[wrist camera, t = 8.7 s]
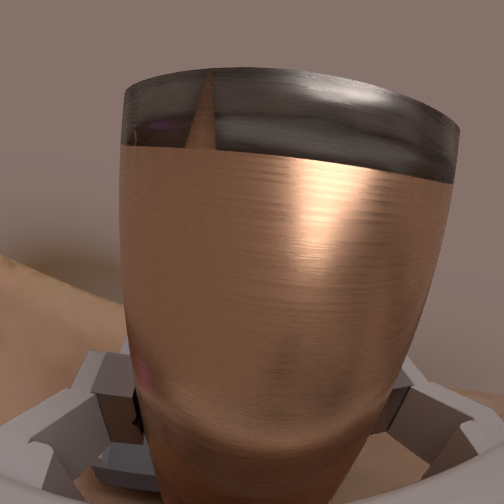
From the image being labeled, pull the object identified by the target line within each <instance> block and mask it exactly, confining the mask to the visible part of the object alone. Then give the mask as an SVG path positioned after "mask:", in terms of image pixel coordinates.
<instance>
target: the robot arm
mask: <svg viewBox="0 0 504 504" xmlns="http://www.w3.org/2000/svg"><path fill="white" fill-rule="evenodd" d="M383 432H387V434H389V435H390V436H391V437H393V438H394V439H395V440H397V441H398V442H399V443H401V444H402V445H404V446H405V447H406V448H408V449H409V450H410V451H412V452H413V453H414V454H416V455H417V456H419V457H420V458H421V459H423V460H424V461H426V462H427V463H428V464H430V465H431V466H430V467H429V468H428V469H427V471H426V472H425V473H424V474H423V476H422V478H421V480H420V481H418V482H415V483H412V484H409V485H406V486H403V487H400V488H397V489H394V490H391V491H388V492H384V493H381V494H377V495H374V496H370V497H367V498H363V499H359V500H355V501H350V502H346V503H342V504H504V422H503V420H502V419H501V418H500V417H499V416H498V415H497V413H496V412H495V411H494V410H493V409H491V408H489V407H486V406H484V405H482V404H480V403H478V402H475V401H473V400H471V399H469V398H467V397H464V396H462V395H460V394H458V393H456V392H454V391H451V390H449V389H447V388H445V387H443V386H441V385H439V384H436V383H434V382H428V381H427V380H426V378H425V377H424V376H423V375H422V373H421V372H420V371H419V370H418V368H417V367H416V366H415V365H414V363H413V362H412V361H411V360H410V359H409V357H408V356H407V355H406V358H405V360H404V363H403V365H402V368H401V370H400V372H399V375H398V377H397V379H396V382H395V384H394V386H393V388H392V391H391V393H390V395H389V397H388V399H387V401H386V403H385V406H384V408H383V410H382V412H381V414H380V416H379V418H378V420H377V422H376V424H375V426H374V428H373V429H372V431H371V433H370V435H373V434H378V433H383ZM144 437H145V432H144V428H143V423H142V419H141V414H140V409H139V404H138V399H137V394H136V388H135V382H134V377H133V370H132V364H131V357H130V355H127V354H119V353H111V352H102V351H95V350H91V351H89V352H88V353H87V355H86V357H85V359H84V361H83V363H82V365H81V367H80V369H79V371H78V373H77V375H76V377H75V379H74V382H73V384H72V386H71V388H70V389H63V390H61V391H60V392H58V393H56V394H55V395H53V396H51V397H50V398H48V399H46V400H45V401H43V402H41V403H39V404H38V405H36V406H34V407H33V408H31V409H29V410H27V411H26V412H24V413H22V414H21V415H19V416H17V417H15V418H14V419H12V420H10V421H9V422H7V423H5V424H3V425H2V426H0V504H92V503H88V502H86V500H85V499H84V497H83V496H82V495H81V493H80V492H79V490H78V489H77V487H76V486H75V484H74V483H73V481H74V480H75V479H76V478H77V477H78V476H79V475H80V474H81V473H82V472H83V471H84V470H85V469H86V468H87V467H88V466H89V465H91V464H92V463H93V462H94V461H95V460H96V459H97V458H98V457H99V456H100V455H101V454H102V453H103V452H104V451H105V450H106V449H107V448H108V447H109V446H110V445H111V444H112V442H118V443H126V444H136V445H143V444H144Z"/></svg>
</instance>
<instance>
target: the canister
mask: <svg viewBox="0 0 504 504" xmlns="http://www.w3.org/2000/svg"><path fill="white" fill-rule="evenodd" d="M459 134H460V129H459V127H458V126H457V124H455V123H454V122H453V121H452V120H451V119H450V118H448V117H447V116H445V115H444V114H443V113H441V112H439V111H437V110H436V109H434V108H432V107H430V106H428V105H426V104H424V103H422V102H419V101H417V100H414V99H412V98H410V97H407V96H404V95H402V94H399V93H396V92H393V91H390V90H387V89H384V88H381V87H378V86H374V85H371V84H367V83H363V82H359V81H355V80H351V79H346V78H341V77H337V76H331V75H326V74H319V73H312V72H304V71H297V70H288V69H274V68H253V67H236V68H210V69H200V70H190V71H183V72H176V73H171V74H166V75H161V76H157V77H153V78H150V79H146V80H143V81H140V82H138V83H136V84H134V85H132V86H130V87H129V88H128V89H127V90H126V92H125V96H124V106H123V118H122V132H121V148H120V173H119V175H120V176H119V228H120V255H121V272H122V286H123V298H124V309H125V318H126V327H127V335H128V343H129V350H130V357H131V364H132V370H133V377H134V382H135V388H136V394H137V399H138V404H139V409H140V414H141V419H142V423H143V428H144V432H145V437H146V441H147V445H148V449H149V453H150V457H151V461H152V465H153V469H154V472H155V476H156V479H157V483H158V486H159V490H160V493H161V496H162V499H163V502H164V504H328V503H329V501H330V500H331V498H332V497H333V495H334V494H335V492H336V491H337V489H338V488H339V486H340V485H341V483H342V481H343V480H344V478H345V477H346V475H347V473H348V472H349V470H350V468H351V467H352V465H353V463H354V462H355V460H356V458H357V457H358V455H359V453H360V451H361V450H362V448H363V446H364V444H365V442H366V441H367V439H368V437H369V435H370V433H371V431H372V429H373V428H374V426H375V424H376V422H377V420H378V418H379V416H380V414H381V412H382V410H383V408H384V406H385V403H386V401H387V399H388V397H389V395H390V393H391V391H392V388H393V386H394V384H395V382H396V379H397V377H398V375H399V372H400V370H401V368H402V365H403V363H404V360H405V358H406V355H407V352H408V350H409V348H410V345H411V342H412V339H413V337H414V334H415V331H416V329H417V326H418V323H419V320H420V317H421V314H422V311H423V308H424V305H425V302H426V299H427V296H428V292H429V289H430V286H431V282H432V278H433V275H434V272H435V268H436V264H437V260H438V257H439V253H440V249H441V244H442V240H443V236H444V231H445V227H446V222H447V217H448V211H449V207H450V202H451V196H452V189H453V184H454V177H455V170H456V162H457V154H458V145H459Z"/></svg>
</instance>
